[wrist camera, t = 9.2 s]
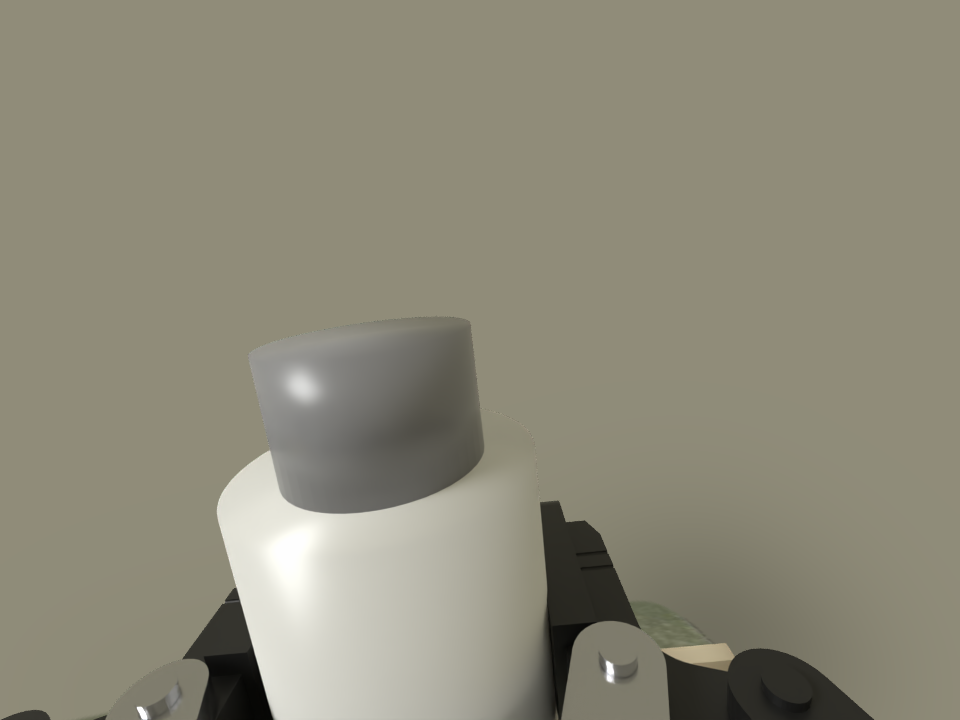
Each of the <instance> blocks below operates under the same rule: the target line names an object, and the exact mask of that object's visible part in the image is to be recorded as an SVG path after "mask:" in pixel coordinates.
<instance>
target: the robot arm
mask: <svg viewBox="0 0 960 720" xmlns="http://www.w3.org/2000/svg"><path fill="white" fill-rule="evenodd" d="M540 509H541V521H542V532H543V544H544V556H545V567H546V579H547V607H548V618H549V630H550V641H551V652H552V664H553V675H554V687H555V698H556V708H557V714H558V720H874V719H873V718H872V717H870V716H869V715H868V714H867V713H866V712H865V711H864V710H862V709H861V708H860V707H859V706H858V705H857V704H856V703H855V702H854V701H852V700H851V699H850V698H849V697H848V696H847V695H846V694H845V693H843V692H842V691H841V690H840V689H839V688H838V687H837V686H836V685H834V684H833V683H832V682H831V681H830V680H829V679H828V678H826V677H825V676H824V675H823V674H821V673H820V672H819V671H818V670H817V669H815V668H814V667H812V666H811V665H809V664H807V663H806V662H804V661H802V660H800V659H798V658H796V657H794V656H791V655H789V654H786V653H783V652H780V651H775V650H770V649H750V650H746V651H743V652H742V653H739V654H738V655H737V656H735V657H734V658H733V660H732V661H731V663H730V665H729V668H728V671H723V670H718V669H713V668H708V667H704V666H699V665H694V664H690V663H686V662H683V661H681V660H678V659H675V658H674V657H672V656H670V655H668V654H666V653H664V652H663V651H661V649H660V647H659V646H658V644H657V643H656V642H655V641H654V640H653V639H652V638H651V637H650V636H649V635H648V634H646V633H645V632H644V631H642V630H641V628H640V627H639V625H638V622H637V620H636V618H635V615H634V613H633V611H632V608H631V606H630V603H629V601H628V599H627V596H626V594H625V592H624V590H623V587H622V585H621V582H620V580H619V578H618V575H617V573H616V571H615V568H613V563H612V561H611V559H610V557H609V554H607V549H606V547H605V545H604V542H603V540H602V538H601V535H600V534H599V533H598V532H597V531H596V530H595V529H594V528H593V527H592V526H590V525H589V524H588V523H587V522H586V521H575V522H565V518H564V515H563V512H562V509H561V506H560V503H559V501H549V502H540ZM2 720H50V717H49V716H48V714H47V713H46V712H43V711H40V710H31V711H24V712H20V713H17V714H14V715H12V716H9V717H6V718H4V719H2ZM95 720H273V717H272V714H271V710H270V706H269V703H268V699H267V695H266V692H265V688H264V685H263V681H262V677H261V674H260V670H259V666H258V663H257V659H256V656H255V652H254V648H253V645H252V641H251V637H250V634H249V630H248V627H247V623H246V619H245V616H244V612H243V609H242V605H241V601H240V598H239V594H238V590H237V587H236V588H234V589H233V590H232V592H231V593H230V594H229V596H228V597H227V598H226V600H225V604H222V605H221V607H220V608H219V609H218V611H217V612H216V614H215V615H214V616H213V618H212V619H211V620H210V622H209V623H208V624H207V626H206V627H205V628H204V630H203V631H202V633H201V634H200V635H199V637H198V638H197V640H196V641H195V642H194V644H193V645H192V646H191V648H190V649H189V650H188V652H187V653H186V654H185V656H184V657H183V659H182V660H178V661H175V662H171V663H169V664H166V665H164V666H162V667H160V668H158V669H156V670H154V671H152V672H150V673H149V674H147V675H146V676H144V677H143V678H141V679H140V680H138V681H137V682H136V683H135V684H133V685H132V686H131V687H130V688H129V689H128V690H127V691H126V692H125V693H124V694H123V695H122V696H121V697H120V698H119V699H118V700H117V701H116V703H115V704H114V705H113V707H112V708H111V710H110V711H109V713H108V715H106V716H103V717H100V718H98V719H95Z"/></svg>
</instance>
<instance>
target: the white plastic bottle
mask: <svg viewBox="0 0 960 720" xmlns="http://www.w3.org/2000/svg"><path fill="white" fill-rule="evenodd" d="M248 359H249V363H250V367H251V371H252V375H253V380H254V384H255V388H256V393H257V397H258V401H259V405H260V410H261V414H262V418H263V422H264V427H265V431H266V435H267V439H268V444H269V448H270V450H269V451H268V452H266V453H264V454H263V455H261V456H260V457H258V458H257V459H255V460H254V461H252V462H251V463H250V464H248V466H246V467H245V468H244V469H242V470H241V471H240V472H239V473H238V474H237V475H236V476H235V477H234V478H233V479H232V480H231V481H230V482H229V484H228V485H227V487H226V488H225V489H224V491H223V493H222V495H221V497H220V499H219V502H218V507H217V516H218V522H219V525H220V529H221V532H222V536H223V540H224V543H225V547H226V551H227V554H228V558H229V561H230V565H231V569H232V572H233V575H234V579H235V583H236V587H237V590H238V594H239V598H240V601H241V605H242V609H243V612H244V616H245V619H246V623H247V627H248V630H249V634H250V637H251V641H252V645H253V648H254V652H255V656H256V659H257V663H258V666H259V670H260V674H261V677H262V681H263V685H264V688H265V692H266V695H267V699H268V703H269V706H270V710H271V714H272V717H273V720H558V714H557V708H556V698H555V687H554V675H553V664H552V652H551V641H550V630H549V618H548V607H547V579H546V567H545V556H544V544H543V532H542V521H541V509H540V498H539V486H538V475H537V463H536V452H535V444H534V440H533V438H532V436H531V434H530V433H529V431H528V430H527V429H526V428H525V427H524V426H523V425H521V424H520V423H519V422H518V421H516V420H514V419H512V418H510V417H508V416H505V415H502V414H500V413H497V412H494V411H490V410H486V409H481V408H480V403H479V395H478V387H477V378H476V369H475V360H474V351H473V343H472V334H471V325H470V322H469V321H468V320H465V319H462V318H454V317H415V318H402V319H391V320H382V321H374V322H366V323H360V324H353V325H347V326H340V327H335V328H329V329H324V330H319V331H314V332H309V333H305V334H301V335H296V336H293V337H289V338H285V339H281V340H278V341H275V342H272V343H269V344H266V345H263V346H261V347H259V348H257V349H255V350H253V351H251V352H250V353H249V354H248Z"/></svg>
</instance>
